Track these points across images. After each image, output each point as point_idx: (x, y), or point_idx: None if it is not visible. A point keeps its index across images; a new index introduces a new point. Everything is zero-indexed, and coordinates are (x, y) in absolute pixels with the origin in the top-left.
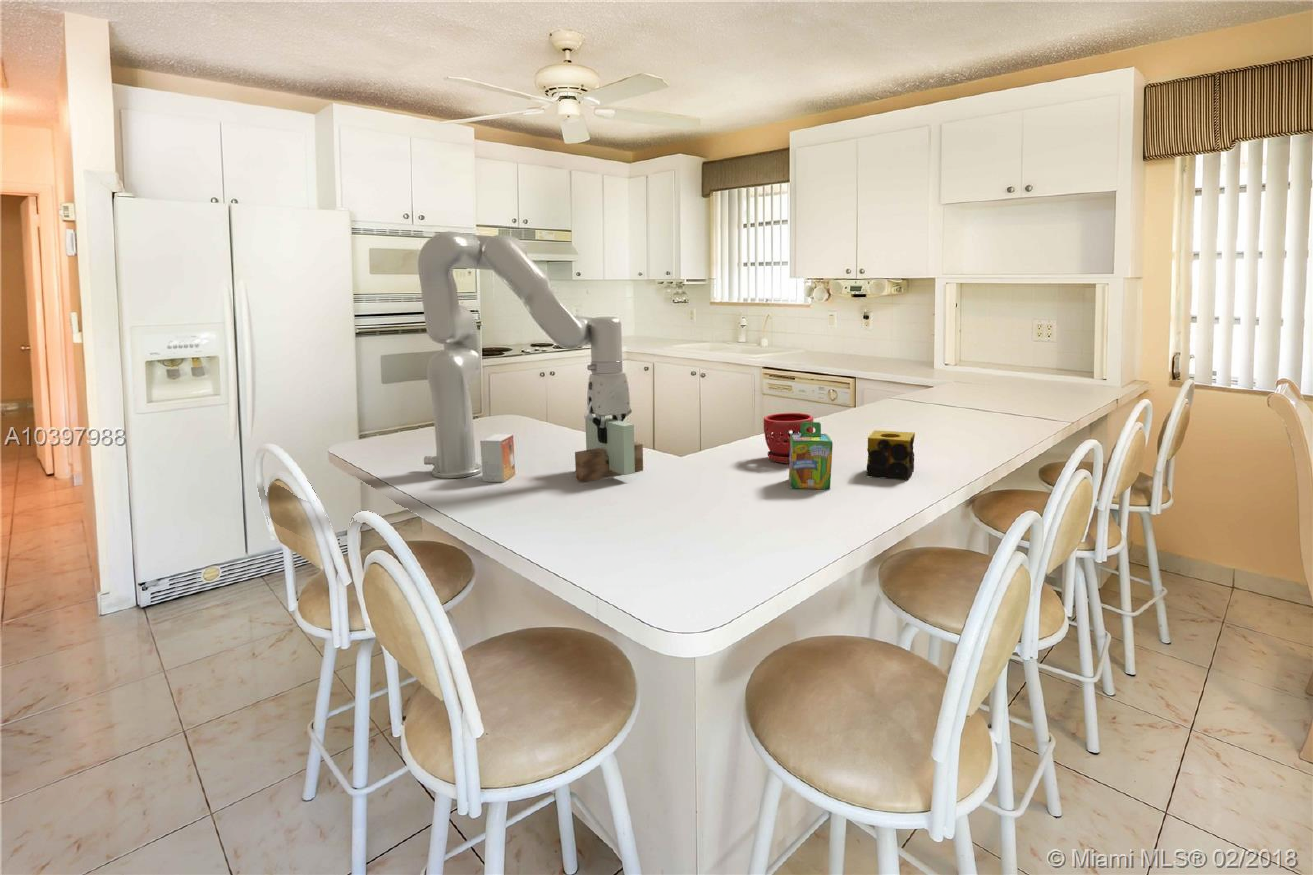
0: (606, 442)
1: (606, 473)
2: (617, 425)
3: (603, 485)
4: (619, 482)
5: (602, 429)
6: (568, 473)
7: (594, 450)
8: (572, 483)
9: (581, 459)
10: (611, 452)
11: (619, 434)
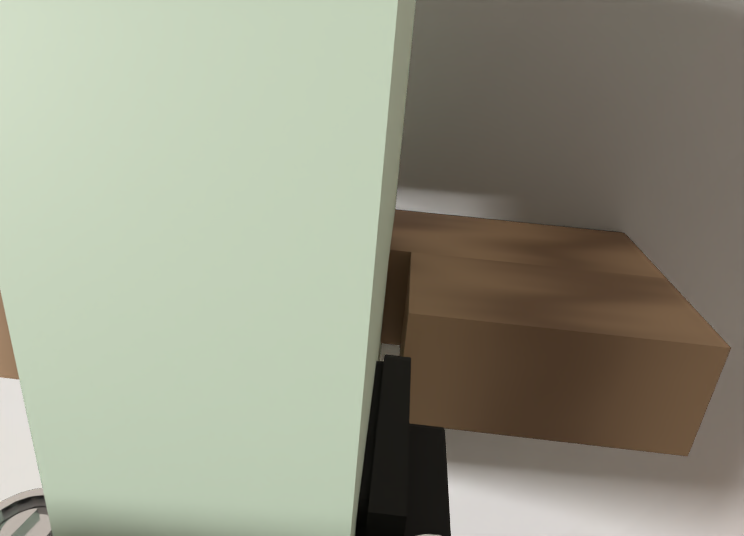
0: (388, 358)
1: (409, 221)
2: (386, 155)
3: (580, 40)
4: (426, 22)
5: (412, 532)
6: (521, 455)
7: (504, 377)
8: (689, 256)
9: (697, 318)
10: (391, 224)
11: (404, 30)
